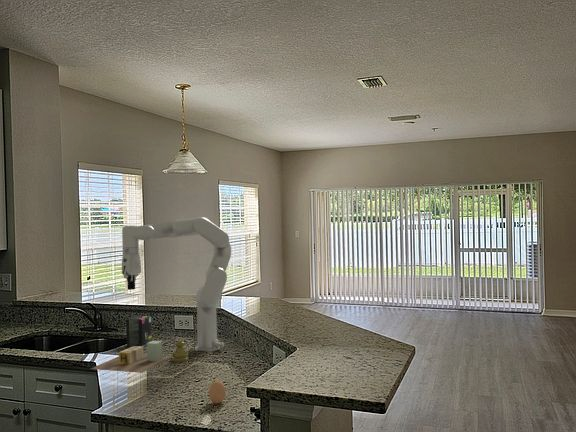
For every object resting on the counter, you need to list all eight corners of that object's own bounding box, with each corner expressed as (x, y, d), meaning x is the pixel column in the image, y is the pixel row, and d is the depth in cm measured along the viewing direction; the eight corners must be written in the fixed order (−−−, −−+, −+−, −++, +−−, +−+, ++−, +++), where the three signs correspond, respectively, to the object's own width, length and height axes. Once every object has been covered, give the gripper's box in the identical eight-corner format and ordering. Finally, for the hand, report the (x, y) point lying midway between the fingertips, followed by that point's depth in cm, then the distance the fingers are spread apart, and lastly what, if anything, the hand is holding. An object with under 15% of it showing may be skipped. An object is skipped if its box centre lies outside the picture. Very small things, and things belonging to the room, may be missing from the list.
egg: (226, 400, 192) (226, 377, 192) (225, 405, 186) (224, 383, 186) (209, 400, 191) (209, 378, 192) (207, 406, 185) (207, 383, 186)
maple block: (128, 364, 238) (143, 357, 249) (128, 352, 238) (143, 346, 249) (118, 363, 239) (134, 356, 251) (118, 352, 239) (134, 346, 251)
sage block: (162, 358, 246) (162, 341, 246) (156, 361, 242) (156, 343, 242) (152, 357, 248) (152, 340, 248) (147, 360, 243) (146, 343, 243)
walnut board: (175, 358, 251) (175, 356, 251) (142, 375, 224) (142, 372, 224) (127, 355, 258) (127, 352, 258) (89, 371, 231) (89, 368, 231)
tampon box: (142, 348, 273) (142, 319, 273) (126, 347, 275) (125, 319, 275) (152, 343, 284) (151, 315, 284) (136, 342, 285) (135, 315, 285)
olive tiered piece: (184, 365, 239) (184, 342, 239) (169, 364, 240) (168, 342, 240) (191, 361, 246) (190, 339, 246) (176, 360, 247) (175, 338, 248)
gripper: (128, 252, 249) (129, 291, 249) (146, 250, 264) (146, 287, 264) (114, 252, 252) (115, 291, 251) (132, 250, 266) (133, 287, 266)
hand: (131, 289), depth 257 cm, fingers closed
